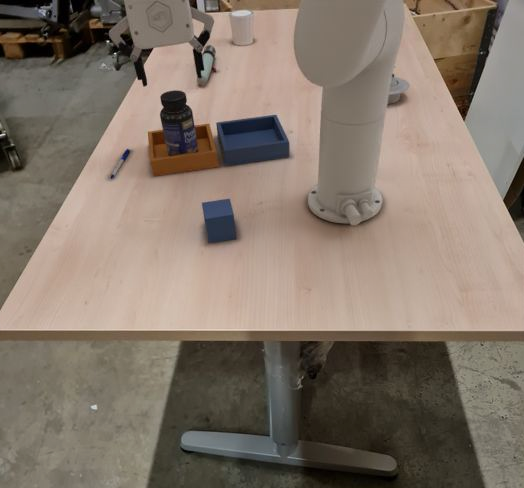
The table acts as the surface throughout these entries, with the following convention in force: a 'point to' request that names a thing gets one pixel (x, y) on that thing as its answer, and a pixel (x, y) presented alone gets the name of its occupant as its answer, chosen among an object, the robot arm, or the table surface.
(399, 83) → the grey flanged cylinder
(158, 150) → the amber tray
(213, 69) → the flashlight
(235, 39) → the white cylinder
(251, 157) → the blue tray
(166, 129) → the pill bottle
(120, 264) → the table surface
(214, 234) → the block
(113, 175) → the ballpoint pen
